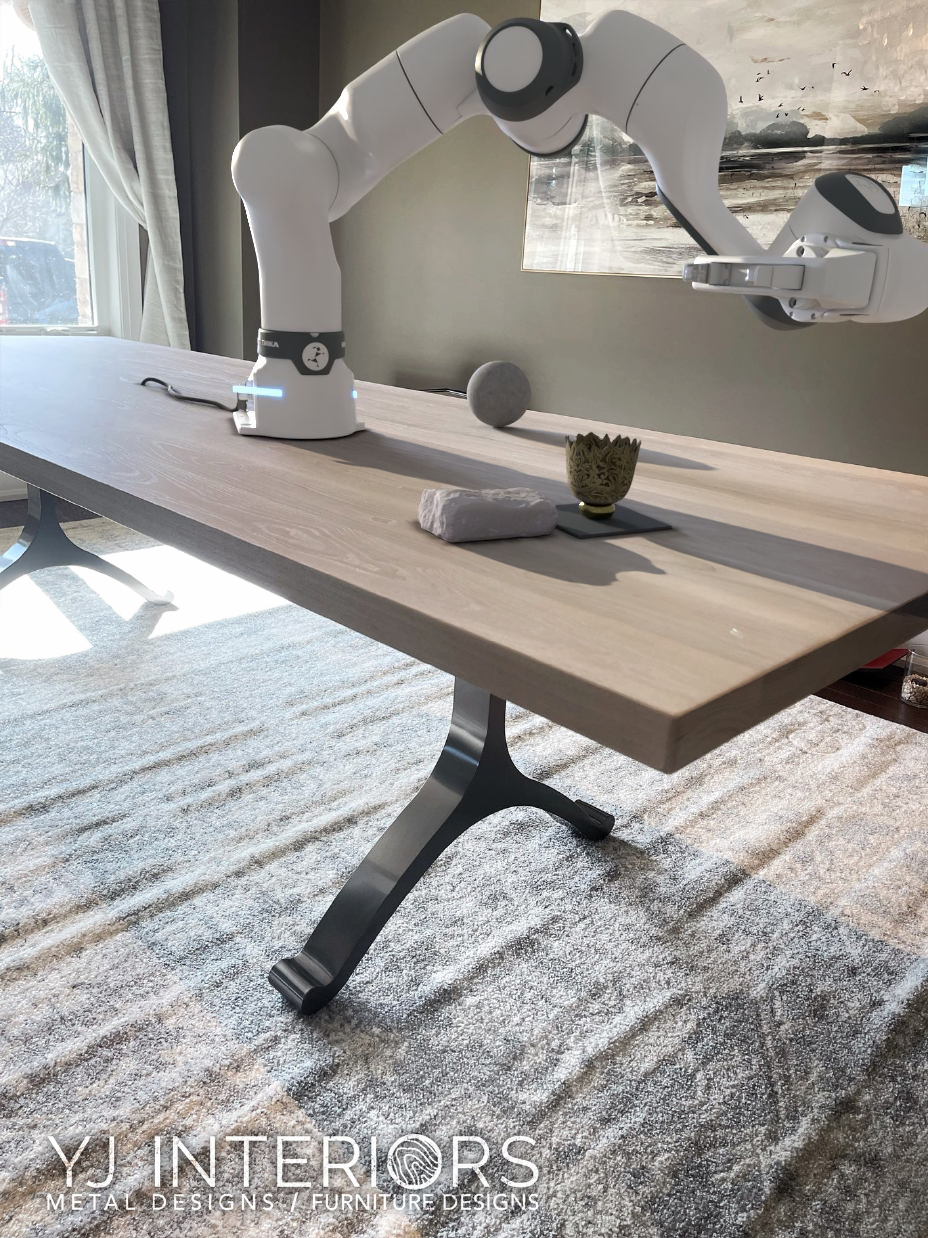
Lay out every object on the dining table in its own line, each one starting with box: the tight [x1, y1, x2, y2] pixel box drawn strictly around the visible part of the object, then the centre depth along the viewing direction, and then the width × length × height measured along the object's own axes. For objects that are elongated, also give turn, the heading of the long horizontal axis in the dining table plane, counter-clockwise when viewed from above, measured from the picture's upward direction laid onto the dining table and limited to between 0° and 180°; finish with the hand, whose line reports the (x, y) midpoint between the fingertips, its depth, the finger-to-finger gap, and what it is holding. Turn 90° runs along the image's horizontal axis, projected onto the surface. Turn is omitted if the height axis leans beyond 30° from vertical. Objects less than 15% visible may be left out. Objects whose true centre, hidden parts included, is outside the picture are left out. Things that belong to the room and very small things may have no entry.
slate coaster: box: [554, 502, 673, 539], centre depth 97 cm, size 11×11×1 cm
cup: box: [564, 431, 642, 519], centre depth 95 cm, size 8×7×8 cm
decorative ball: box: [466, 360, 532, 428], centre depth 148 cm, size 10×10×10 cm
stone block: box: [418, 486, 558, 543], centre depth 91 cm, size 12×5×10 cm
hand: (718, 273), depth 94 cm, fingers open, 8 cm apart
